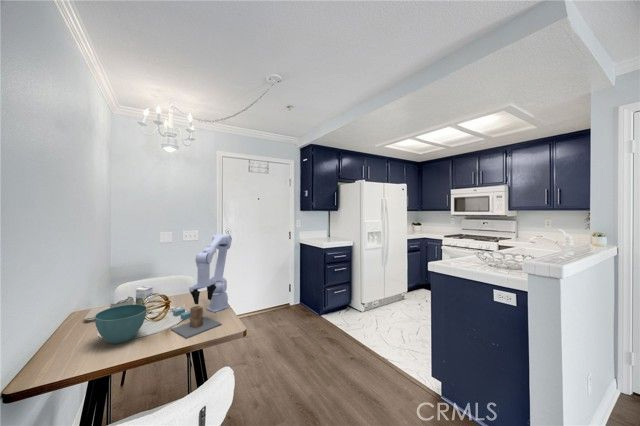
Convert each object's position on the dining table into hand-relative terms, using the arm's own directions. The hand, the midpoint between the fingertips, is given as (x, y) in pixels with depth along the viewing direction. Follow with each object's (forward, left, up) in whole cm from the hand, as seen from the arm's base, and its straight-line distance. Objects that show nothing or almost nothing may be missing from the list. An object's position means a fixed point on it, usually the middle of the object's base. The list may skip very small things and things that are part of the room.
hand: (203, 301), depth 133 cm
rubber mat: (+6, +4, -10) cm, 12 cm away
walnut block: (+6, +4, -10) cm, 12 cm away
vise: (+3, -18, -10) cm, 21 cm away
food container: (+23, -34, -11) cm, 42 cm away
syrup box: (+14, -35, -11) cm, 39 cm away
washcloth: (+28, -50, -11) cm, 58 cm away
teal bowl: (+32, -11, -11) cm, 35 cm away
